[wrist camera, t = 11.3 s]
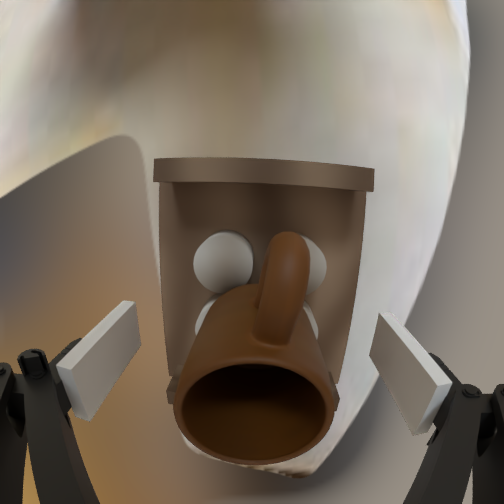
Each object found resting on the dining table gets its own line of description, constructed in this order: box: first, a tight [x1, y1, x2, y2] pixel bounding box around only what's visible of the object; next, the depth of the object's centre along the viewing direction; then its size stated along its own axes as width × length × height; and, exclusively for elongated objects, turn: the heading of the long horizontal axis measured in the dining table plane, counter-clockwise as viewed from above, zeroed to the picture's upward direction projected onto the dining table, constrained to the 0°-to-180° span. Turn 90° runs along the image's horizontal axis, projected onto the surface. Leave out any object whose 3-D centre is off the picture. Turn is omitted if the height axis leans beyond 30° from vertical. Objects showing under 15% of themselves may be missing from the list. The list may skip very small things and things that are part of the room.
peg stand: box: [153, 158, 374, 411], centre depth 21 cm, size 16×19×5 cm
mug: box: [173, 232, 335, 465], centre depth 15 cm, size 12×8×9 cm, turn 169°
